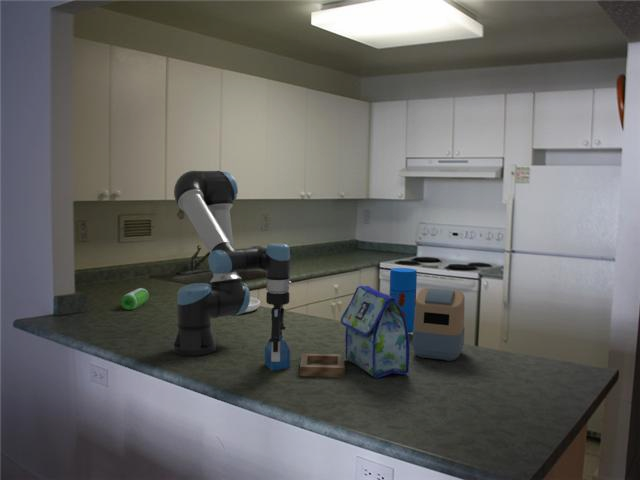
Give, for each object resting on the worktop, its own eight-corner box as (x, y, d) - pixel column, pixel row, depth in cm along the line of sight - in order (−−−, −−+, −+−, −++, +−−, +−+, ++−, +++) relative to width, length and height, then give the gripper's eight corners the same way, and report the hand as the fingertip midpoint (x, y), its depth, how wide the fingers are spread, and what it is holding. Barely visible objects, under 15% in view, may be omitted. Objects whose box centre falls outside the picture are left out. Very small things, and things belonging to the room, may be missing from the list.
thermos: (414, 333, 244) (416, 272, 241) (387, 332, 246) (389, 271, 243) (415, 327, 254) (417, 268, 252) (389, 325, 257) (391, 267, 254)
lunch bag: (337, 360, 208) (338, 285, 205) (379, 355, 214) (381, 282, 211) (367, 381, 187) (369, 298, 184) (413, 375, 194) (416, 295, 191)
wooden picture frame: (300, 375, 191) (300, 366, 191) (302, 362, 205) (302, 353, 205) (344, 377, 191) (344, 367, 191) (343, 363, 205) (343, 354, 205)
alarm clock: (409, 358, 211) (412, 293, 209) (419, 346, 227) (421, 285, 224) (458, 364, 206) (461, 297, 203) (464, 351, 221) (467, 288, 219)
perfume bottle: (272, 370, 196) (272, 334, 195) (264, 365, 202) (265, 329, 200) (289, 367, 199) (290, 332, 198) (281, 362, 204) (282, 327, 203)
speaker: (135, 302, 293) (135, 287, 292) (149, 302, 292) (149, 287, 291) (119, 310, 275) (119, 294, 275) (135, 311, 275) (135, 294, 274)
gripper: (286, 299, 185) (286, 367, 187) (291, 284, 210) (291, 344, 212) (262, 298, 185) (261, 366, 187) (270, 284, 210) (269, 344, 212)
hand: (277, 355), depth 200 cm, fingers open, 13 cm apart
